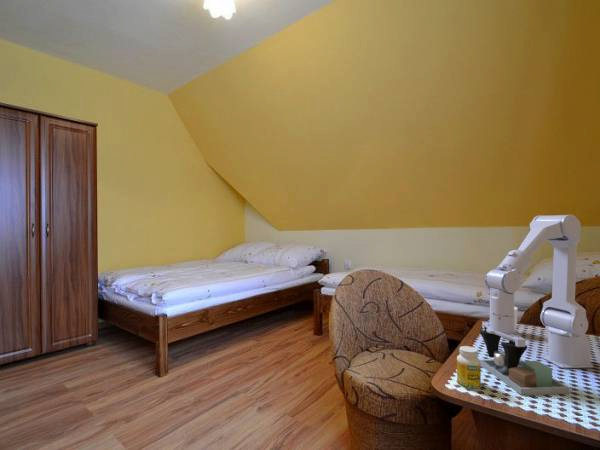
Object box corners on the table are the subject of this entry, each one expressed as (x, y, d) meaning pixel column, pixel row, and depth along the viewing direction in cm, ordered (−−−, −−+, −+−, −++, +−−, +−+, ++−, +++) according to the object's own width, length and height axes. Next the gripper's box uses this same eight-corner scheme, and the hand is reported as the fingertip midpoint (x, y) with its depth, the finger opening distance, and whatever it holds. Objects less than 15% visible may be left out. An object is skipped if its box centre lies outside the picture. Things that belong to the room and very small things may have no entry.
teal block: (537, 377, 83) (537, 360, 82) (552, 386, 78) (552, 368, 78) (521, 378, 82) (521, 361, 82) (534, 387, 78) (534, 369, 78)
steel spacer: (503, 367, 88) (503, 350, 88) (515, 374, 84) (515, 356, 84) (490, 369, 88) (490, 351, 88) (502, 375, 84) (502, 357, 84)
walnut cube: (520, 381, 80) (520, 366, 80) (536, 389, 77) (536, 373, 77) (508, 384, 79) (508, 368, 79) (524, 392, 75) (524, 375, 75)
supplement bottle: (469, 380, 83) (469, 344, 83) (486, 390, 77) (485, 352, 77) (452, 382, 81) (452, 345, 81) (467, 393, 76) (467, 354, 76)
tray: (519, 365, 91) (519, 358, 91) (569, 396, 75) (569, 387, 75) (479, 366, 90) (479, 359, 90) (520, 397, 74) (520, 388, 74)
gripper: (472, 306, 93) (472, 352, 93) (506, 322, 79) (506, 376, 79) (495, 306, 93) (495, 351, 93) (533, 321, 79) (533, 375, 79)
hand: (502, 363), depth 86 cm, fingers open, 7 cm apart
